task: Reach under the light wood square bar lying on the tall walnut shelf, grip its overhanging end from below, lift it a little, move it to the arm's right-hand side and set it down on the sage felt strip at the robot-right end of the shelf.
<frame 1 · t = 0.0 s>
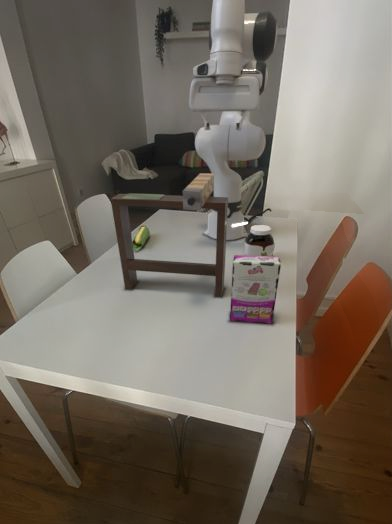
hand: (222, 130, 95), 39 cm above the table, tool pointing down, fingers open, 8 cm apart
light wood square bar: (200, 198, 81), point 26 cm above the table, touching walnut shelf
spread jar: (258, 259, 116), on the table
candy bar box: (250, 318, 85), on the table
walnut shelf: (174, 288, 98), on the table
edible corn: (141, 243, 130), on the table
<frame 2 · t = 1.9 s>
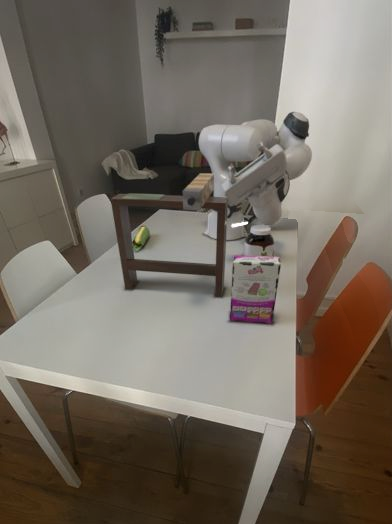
hand: (245, 155, 90), 33 cm above the table, tool pointing upward, fingers open, 8 cm apart
nothing on the table moved.
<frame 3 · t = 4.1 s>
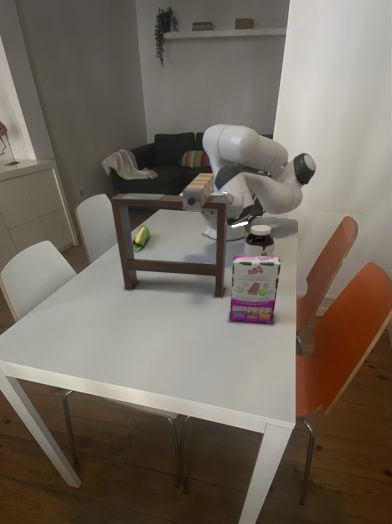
hand: (208, 193, 92), 25 cm above the table, tool pointing upward, fingers open, 8 cm apart
nothing on the table moved.
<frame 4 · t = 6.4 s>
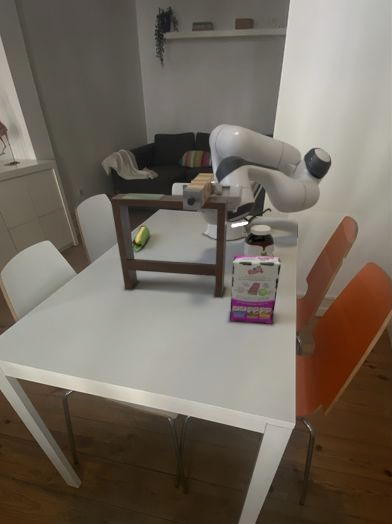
hand: (203, 183, 84), 28 cm above the table, tool pointing upward, fingers closed on light wood square bar, 4 cm apart
light wood square bar: (199, 198, 81), point 26 cm above the table, touching gripper, walnut shelf
everything else where it was.
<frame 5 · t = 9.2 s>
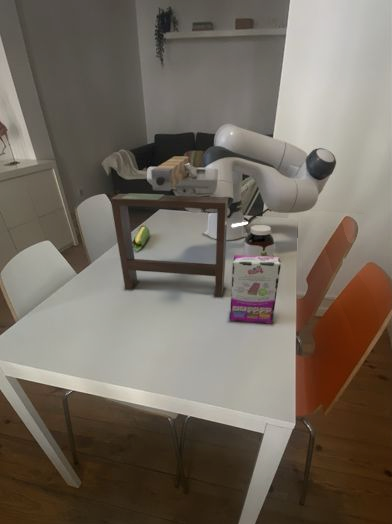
hand: (177, 166, 83), 32 cm above the table, tool pointing upward, fingers closed on light wood square bar, 4 cm apart
light wood square bar: (172, 180, 80), point 30 cm above the table, touching gripper
everything else where it was.
when the fingers open (29 cm above the table, at t = 12.4 s): light wood square bar stays where it is, resting on walnut shelf.
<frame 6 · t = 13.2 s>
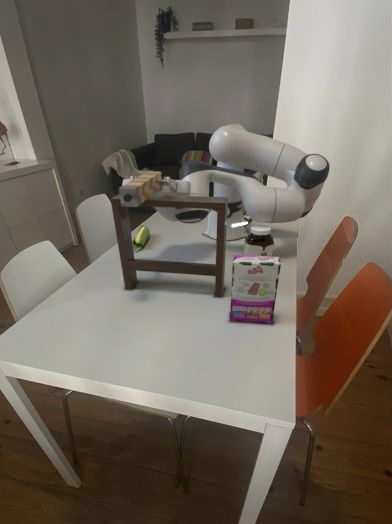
hand: (149, 179, 86), 29 cm above the table, tool pointing upward, fingers open, 8 cm apart
light wood square bar: (143, 195, 84), point 26 cm above the table, touching walnut shelf
everything else where it was.
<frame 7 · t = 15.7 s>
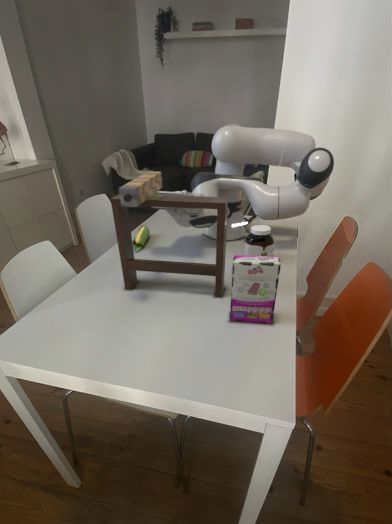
hand: (168, 192, 99), 23 cm above the table, tool pointing upward, fingers open, 8 cm apart
nothing on the table moved.
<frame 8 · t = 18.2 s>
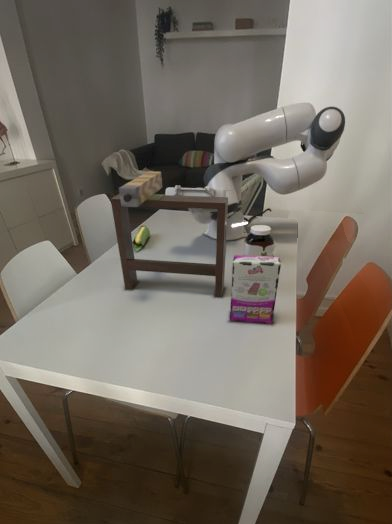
hand: (192, 188, 99), 24 cm above the table, tool pointing upward, fingers open, 8 cm apart
nothing on the table moved.
at the end: light wood square bar inside the target area (0.1 cm from its centre), point 26.2 cm above the table; light wood square bar tilted 0°; the gripper is holding nothing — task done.
